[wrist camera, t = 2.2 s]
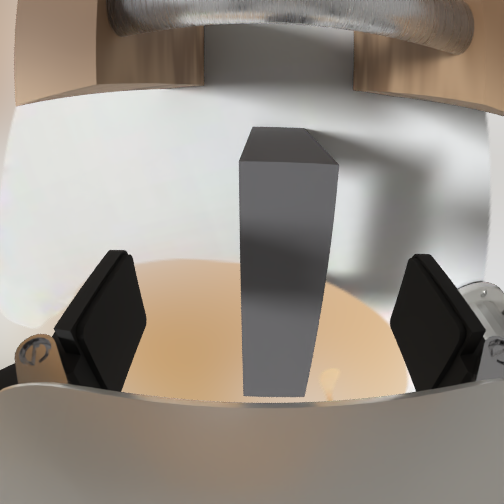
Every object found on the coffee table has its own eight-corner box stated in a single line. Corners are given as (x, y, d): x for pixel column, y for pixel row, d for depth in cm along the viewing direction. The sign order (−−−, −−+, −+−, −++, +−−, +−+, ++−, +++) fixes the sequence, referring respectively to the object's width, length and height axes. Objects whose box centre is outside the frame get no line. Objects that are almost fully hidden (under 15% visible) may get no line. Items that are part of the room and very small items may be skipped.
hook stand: (393, 96, 19) (545, 128, 6) (161, 88, 19) (15, 106, 6) (394, 31, 16) (540, -8, 3) (161, 23, 17) (23, -36, 4)
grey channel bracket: (294, 288, 27) (304, 396, 17) (252, 287, 27) (243, 395, 17) (304, 128, 20) (338, 164, 11) (252, 126, 20) (238, 161, 11)
